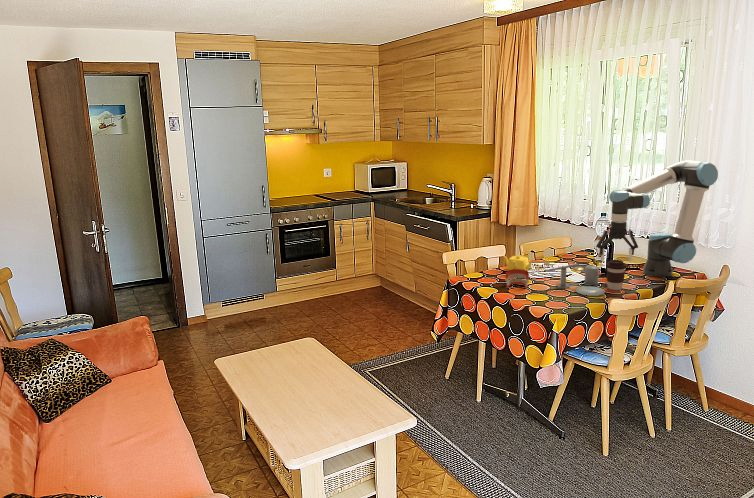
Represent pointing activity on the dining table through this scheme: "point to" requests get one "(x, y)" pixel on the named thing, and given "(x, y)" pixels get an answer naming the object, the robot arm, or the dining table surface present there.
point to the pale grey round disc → (590, 291)
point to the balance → (563, 273)
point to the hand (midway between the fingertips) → (616, 260)
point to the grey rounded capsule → (591, 275)
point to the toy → (516, 274)
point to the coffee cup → (615, 274)
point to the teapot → (518, 262)
